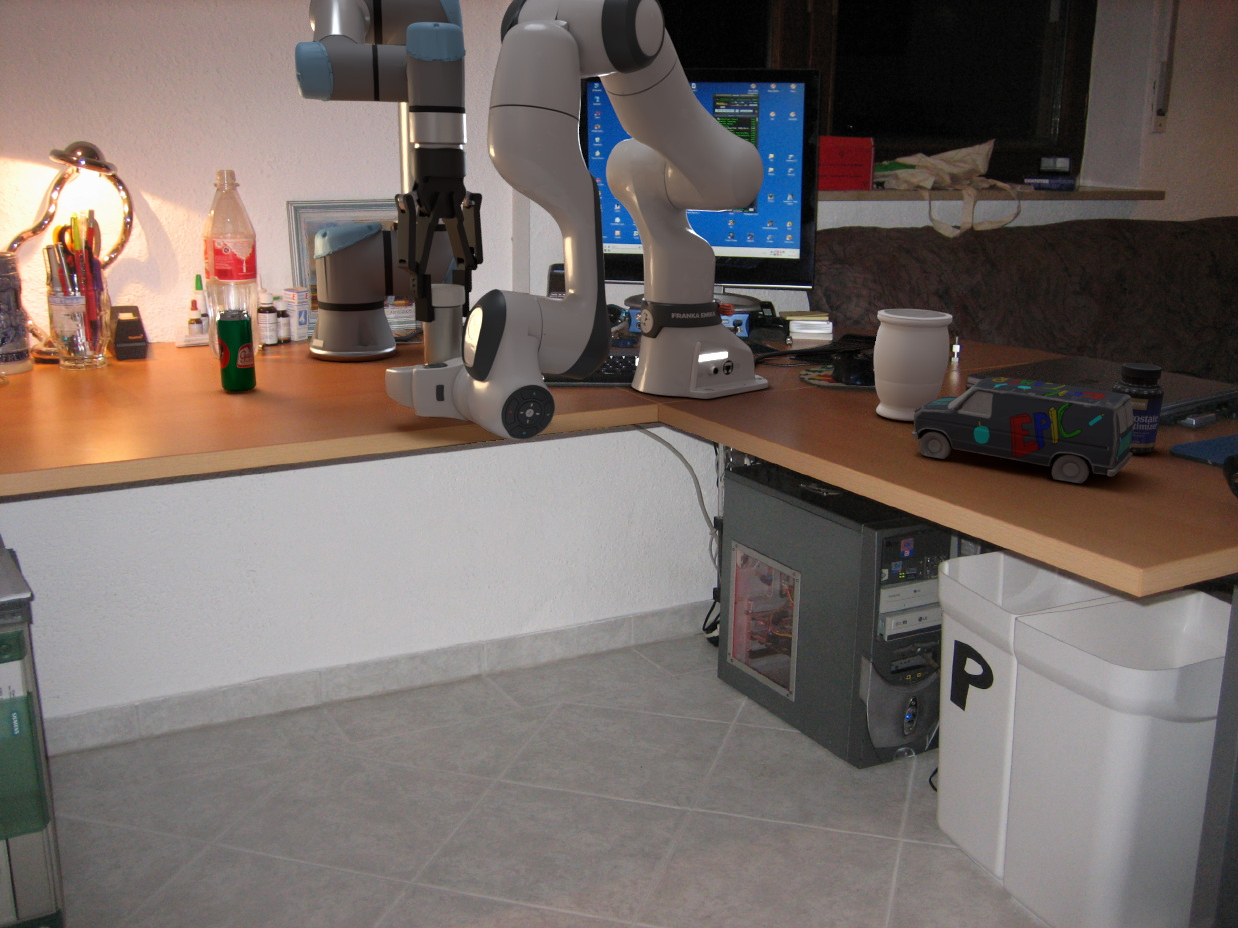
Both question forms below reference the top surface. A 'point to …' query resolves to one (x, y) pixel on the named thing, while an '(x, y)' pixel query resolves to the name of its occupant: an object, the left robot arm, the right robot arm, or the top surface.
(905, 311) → the jar
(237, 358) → the soda can
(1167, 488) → the top surface
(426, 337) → the metal thermos bottle
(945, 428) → the toy van
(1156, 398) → the pill bottle
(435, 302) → the lid
